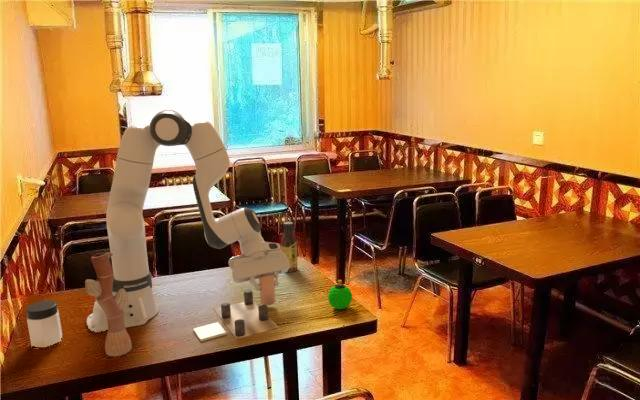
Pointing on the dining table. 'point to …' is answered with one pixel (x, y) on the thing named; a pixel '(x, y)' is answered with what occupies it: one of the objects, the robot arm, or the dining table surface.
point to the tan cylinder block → (267, 289)
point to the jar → (44, 323)
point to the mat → (209, 331)
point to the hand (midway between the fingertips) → (267, 287)
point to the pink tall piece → (110, 305)
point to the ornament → (340, 296)
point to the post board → (245, 317)
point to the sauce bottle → (290, 246)
